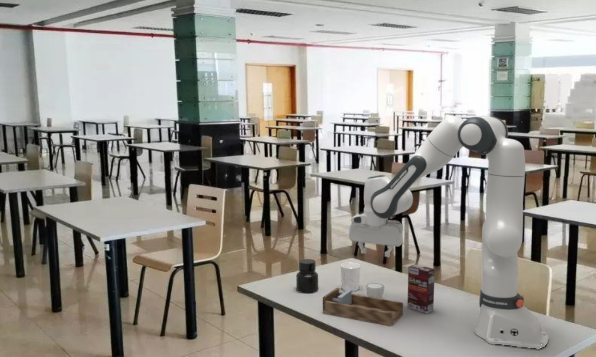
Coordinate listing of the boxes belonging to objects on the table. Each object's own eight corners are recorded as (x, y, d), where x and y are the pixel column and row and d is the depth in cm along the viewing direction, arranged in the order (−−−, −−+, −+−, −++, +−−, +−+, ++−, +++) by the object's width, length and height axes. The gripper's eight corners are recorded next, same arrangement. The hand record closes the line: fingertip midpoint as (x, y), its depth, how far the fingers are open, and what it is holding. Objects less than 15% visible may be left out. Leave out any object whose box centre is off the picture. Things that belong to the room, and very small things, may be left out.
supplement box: (406, 308, 216) (407, 266, 214) (413, 304, 220) (414, 263, 217) (427, 314, 210) (428, 271, 208) (434, 310, 214) (435, 268, 211)
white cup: (363, 288, 239) (363, 264, 238) (354, 293, 233) (354, 269, 231) (346, 284, 243) (346, 261, 242) (337, 290, 237) (337, 266, 235)
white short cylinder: (383, 307, 217) (383, 289, 216) (365, 306, 219) (365, 288, 218) (384, 301, 224) (384, 283, 223) (366, 299, 225) (366, 282, 224)
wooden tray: (402, 314, 210) (403, 298, 209) (391, 326, 199) (391, 309, 199) (336, 302, 222) (336, 287, 222) (322, 313, 212) (322, 297, 211)
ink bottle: (319, 286, 241) (319, 258, 240) (318, 293, 233) (318, 264, 231) (296, 286, 242) (296, 258, 241) (294, 293, 234) (294, 264, 232)
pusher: (351, 303, 218) (351, 290, 217) (341, 311, 210) (341, 297, 209) (338, 301, 220) (338, 287, 220) (327, 308, 213) (327, 295, 212)
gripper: (405, 219, 214) (404, 256, 216) (354, 214, 224) (353, 249, 226) (399, 223, 209) (399, 260, 211) (347, 217, 219) (347, 253, 221)
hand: (375, 255), depth 219 cm, fingers open, 8 cm apart
